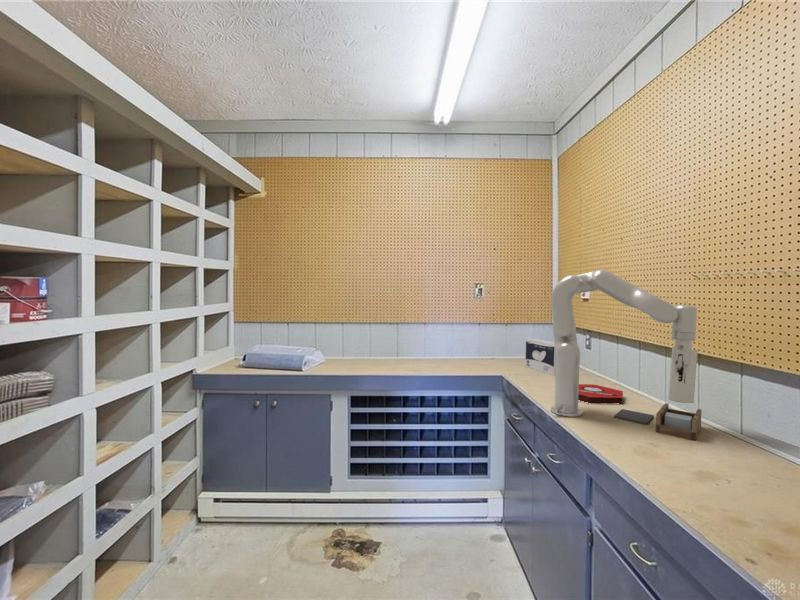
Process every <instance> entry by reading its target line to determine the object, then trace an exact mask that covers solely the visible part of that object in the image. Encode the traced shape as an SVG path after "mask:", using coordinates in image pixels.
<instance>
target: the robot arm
mask: <svg viewBox="0 0 800 600" xmlns="http://www.w3.org/2000/svg"><path fill="white" fill-rule="evenodd" d="M593 291H600V292H601V293H604V294H606V295H607V296H609V297H610V298H613V299H614V300H616V301H618V302H620V303H622V304H623V305H626V306H628V307H631V308H634V309H637V310H639V311H641V312H643V313H645V314H647V315H648V316H649V317H650V318H651V319H652V320H653V321H655V322H658V323H662V324H671V323H672V326H671V327H672V329H671V339H672V340H674V347H675V348H674V364H675V365H676V373H679V375H681V377H680V376H679V378H680V380H679V378H678V381H679V382H681V381H682V378H683V374H685V365H687V366H690V362H691V350H693V342H695V341H696V332H697V316H698V315H697V314H698V308H697V307H696V306H695V305H689V304H688V305H687V304H677V305H673V304H671V303H669V302H667V301H665V300H664V299H662V298H660V297H658V296H656V295H655V294H652V293H649V291H646V290H644V289H642V288H641V287H639V286H637V285H634V284H633V283H631V282H629V281H627V280H625V279H623V278H621V277H620V276H618V275H617V274H614V273H613V272H610V271H608V270H606V269H602V268H601V269H597V270H594V271H591V272H585V273H580V274H569V275H567V276H565V277H563V278H562V279H561V280H559V281H558V282H557V283H556V284H555V286H554V288H553V290H552V292H551V299H550V302H551V303H550V305H551V313H552V331H553V339H554V343H555V348H556V367H555V376H554V378H555V379H554V405H553V406H551V407H550V411H551V413H553V414H555V415H559V416H561V417H562V416H564V417H571V418H572V417H573V418H575V417H580V416H583V410H581V409H580V408H579V401H578V398H579V384H580V364H581V349H580V346H579V344H578V339H577V330H576V329H577V325H576V324H577V323H576V320H575V316H574V314H575V313H574V307H573V306H574V305H573V299H574V296H575V295H576V294H582V293H588V292H593ZM677 360H678V364H677V363H676V361H677ZM682 364H684V366H683V365H682ZM684 384H685V379H684Z"/></svg>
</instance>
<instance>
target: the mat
mask: <svg viewBox="0 0 800 600" xmlns="http://www.w3.org/2000/svg"><path fill="white" fill-rule="evenodd" d="M654 416H655V415H654V414H649V413H644V412H639V411H634V410H629V409H624V408H621V409H620V410H619V411H618V412H617V413H616V414H614V415H613V419H616V418H618V420H621V419H622V421H625V420H627V421H626V422H630V421H631V423H636V424H641V425H644V426H647V425H648V424H650V422H651V421H652V419H654Z"/></svg>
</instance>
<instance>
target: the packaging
mask: <svg viewBox="0 0 800 600" xmlns="http://www.w3.org/2000/svg"><path fill="white" fill-rule="evenodd" d="M524 343H525V347H524V348H525V349H524V352H525V353H524V367H525V368H528V369H531V370H535V371H538V372H541V373H544V374H547V375H550V376H553V375H554V377H555V367H556V348H555V341H554V342H553V341H548V340H543V339H537V338H531V337H530V338H528V337H526V338H525V341H524Z"/></svg>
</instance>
